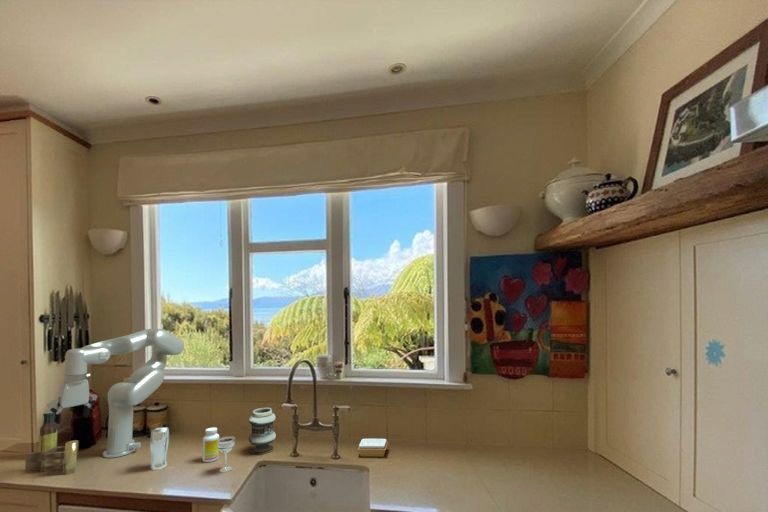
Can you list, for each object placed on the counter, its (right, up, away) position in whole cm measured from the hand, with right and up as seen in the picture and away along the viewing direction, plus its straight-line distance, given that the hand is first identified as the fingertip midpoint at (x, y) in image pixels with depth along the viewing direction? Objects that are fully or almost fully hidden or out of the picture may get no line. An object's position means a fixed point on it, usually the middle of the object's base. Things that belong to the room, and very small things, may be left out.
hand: (72, 420), depth 161 cm
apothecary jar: (+75, -21, +17) cm, 80 cm away
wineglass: (+66, -19, -3) cm, 69 cm away
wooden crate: (-13, -22, +6) cm, 26 cm away
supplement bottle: (+55, -21, +7) cm, 59 cm away
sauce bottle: (-23, -23, +14) cm, 36 cm away
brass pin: (+1, -21, -2) cm, 21 cm away
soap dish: (+127, -20, +10) cm, 129 cm away
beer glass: (+36, -20, +1) cm, 41 cm away
